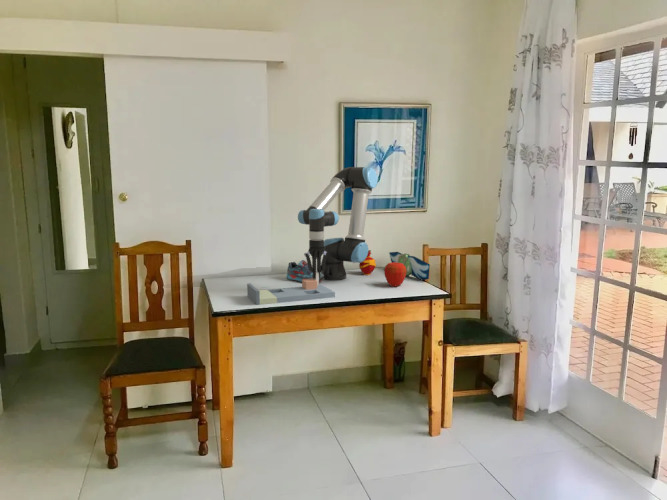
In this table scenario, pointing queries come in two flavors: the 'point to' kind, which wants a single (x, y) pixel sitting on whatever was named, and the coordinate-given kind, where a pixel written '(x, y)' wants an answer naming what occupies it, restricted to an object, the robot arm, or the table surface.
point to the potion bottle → (367, 264)
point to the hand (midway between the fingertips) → (316, 284)
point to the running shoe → (300, 272)
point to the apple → (395, 273)
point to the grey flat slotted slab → (287, 294)
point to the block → (309, 284)
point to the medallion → (412, 265)
